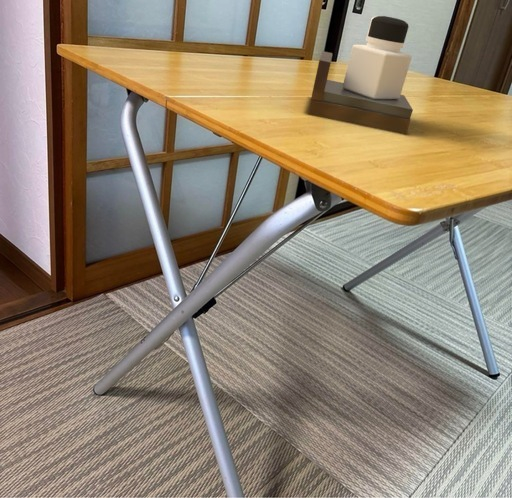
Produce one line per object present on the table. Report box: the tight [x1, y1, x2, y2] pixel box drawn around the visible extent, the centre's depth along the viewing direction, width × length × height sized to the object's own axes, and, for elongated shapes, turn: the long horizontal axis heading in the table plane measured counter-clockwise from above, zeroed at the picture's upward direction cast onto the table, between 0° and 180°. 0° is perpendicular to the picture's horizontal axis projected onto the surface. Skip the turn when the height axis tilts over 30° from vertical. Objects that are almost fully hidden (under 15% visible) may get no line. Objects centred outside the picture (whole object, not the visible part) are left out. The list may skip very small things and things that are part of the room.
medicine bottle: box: [342, 15, 412, 99], centre depth 84 cm, size 7×7×12 cm
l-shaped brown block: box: [307, 51, 414, 135], centre depth 87 cm, size 16×14×8 cm
